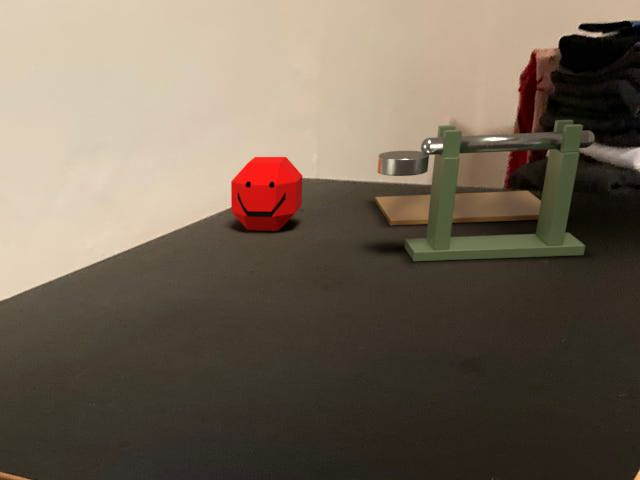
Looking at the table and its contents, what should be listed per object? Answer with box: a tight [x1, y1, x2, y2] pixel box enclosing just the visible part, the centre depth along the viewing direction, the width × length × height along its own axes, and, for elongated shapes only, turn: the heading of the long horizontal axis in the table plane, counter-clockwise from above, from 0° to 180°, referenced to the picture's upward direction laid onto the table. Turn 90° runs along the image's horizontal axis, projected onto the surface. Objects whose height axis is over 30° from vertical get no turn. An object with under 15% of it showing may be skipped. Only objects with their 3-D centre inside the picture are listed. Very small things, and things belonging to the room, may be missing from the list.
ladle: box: [376, 130, 595, 177], centre depth 102 cm, size 22×5×3 cm, turn 87°
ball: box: [230, 156, 304, 232], centre depth 120 cm, size 8×8×8 cm
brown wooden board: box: [374, 190, 541, 226], centre depth 125 cm, size 20×14×1 cm
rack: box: [404, 119, 586, 263], centre depth 104 cm, size 18×6×12 cm, turn 87°
